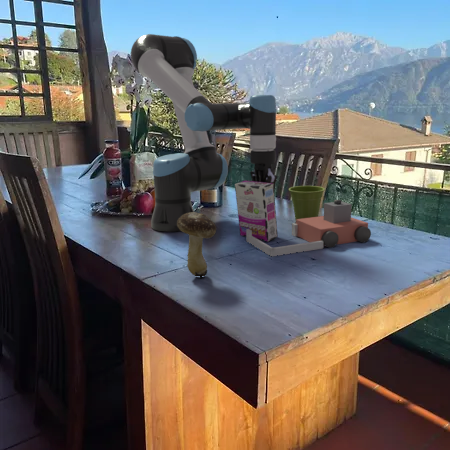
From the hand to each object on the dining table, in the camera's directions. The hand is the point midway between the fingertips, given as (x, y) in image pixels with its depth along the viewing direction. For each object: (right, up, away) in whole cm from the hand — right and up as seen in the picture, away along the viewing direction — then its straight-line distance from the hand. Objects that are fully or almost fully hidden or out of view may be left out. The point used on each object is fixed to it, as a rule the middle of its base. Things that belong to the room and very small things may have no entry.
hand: (263, 227), depth 138 cm
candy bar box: (-2, -3, -3) cm, 4 cm away
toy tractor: (+12, -4, -8) cm, 15 cm away
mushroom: (-18, -12, -34) cm, 40 cm away
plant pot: (+16, +2, +15) cm, 21 cm away
